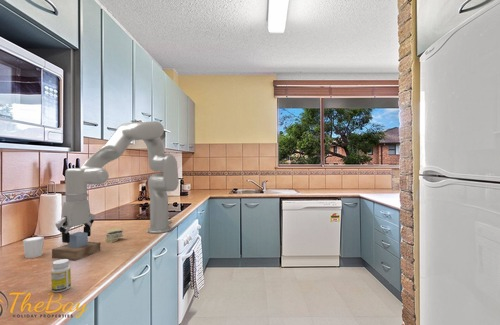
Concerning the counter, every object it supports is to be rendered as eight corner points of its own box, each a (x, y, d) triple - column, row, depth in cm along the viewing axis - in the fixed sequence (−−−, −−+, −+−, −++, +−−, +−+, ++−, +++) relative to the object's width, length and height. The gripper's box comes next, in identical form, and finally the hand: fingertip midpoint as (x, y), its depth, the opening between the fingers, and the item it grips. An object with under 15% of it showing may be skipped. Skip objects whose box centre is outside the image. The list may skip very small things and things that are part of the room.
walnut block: (78, 249, 119) (78, 240, 119) (100, 252, 116) (100, 242, 116) (52, 259, 108) (51, 249, 108) (75, 262, 104) (75, 251, 104)
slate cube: (78, 243, 115) (78, 231, 115) (87, 244, 113) (87, 232, 113) (67, 247, 110) (67, 234, 110) (76, 248, 109) (76, 235, 109)
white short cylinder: (27, 253, 113) (26, 237, 113) (46, 251, 115) (46, 235, 115) (19, 259, 106) (19, 241, 106) (40, 257, 109) (40, 239, 109)
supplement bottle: (62, 284, 84) (62, 257, 84) (74, 286, 83) (74, 259, 83) (47, 291, 80) (47, 263, 80) (59, 293, 78) (59, 264, 78)
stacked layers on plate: (112, 245, 125) (112, 233, 125) (99, 243, 128) (99, 231, 128) (129, 239, 134) (129, 228, 134) (116, 237, 137) (116, 226, 137)
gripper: (87, 195, 121) (87, 233, 121) (48, 200, 104) (49, 244, 105) (100, 195, 119) (101, 234, 119) (63, 201, 102) (64, 246, 102)
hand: (76, 239), depth 112 cm, fingers open, 9 cm apart
